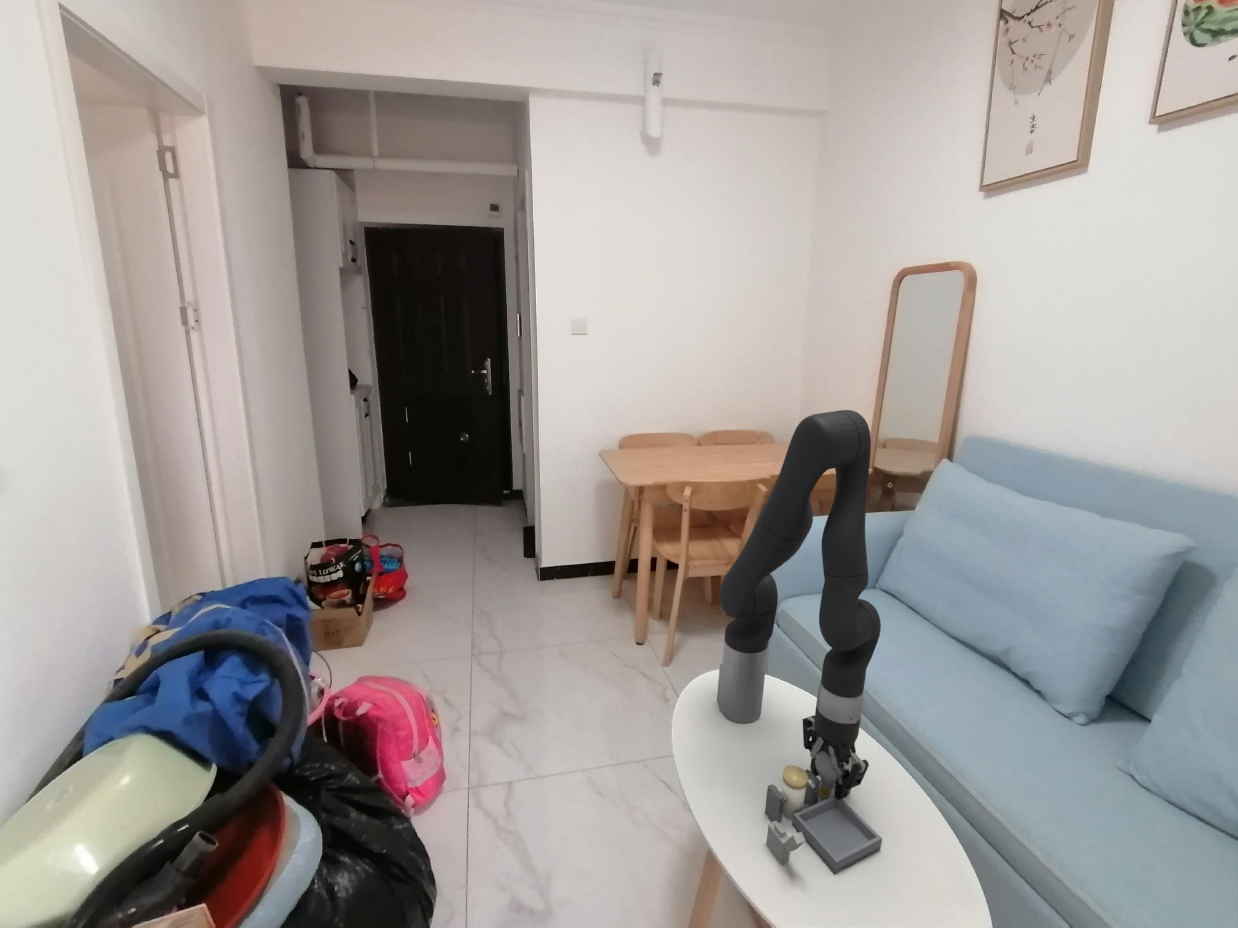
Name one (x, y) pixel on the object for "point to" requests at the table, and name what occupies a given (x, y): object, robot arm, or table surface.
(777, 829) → the lighter
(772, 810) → the clip block
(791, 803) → the cream domed cylinder
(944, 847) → the table surface
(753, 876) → the table surface
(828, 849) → the tray
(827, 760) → the light bulb
